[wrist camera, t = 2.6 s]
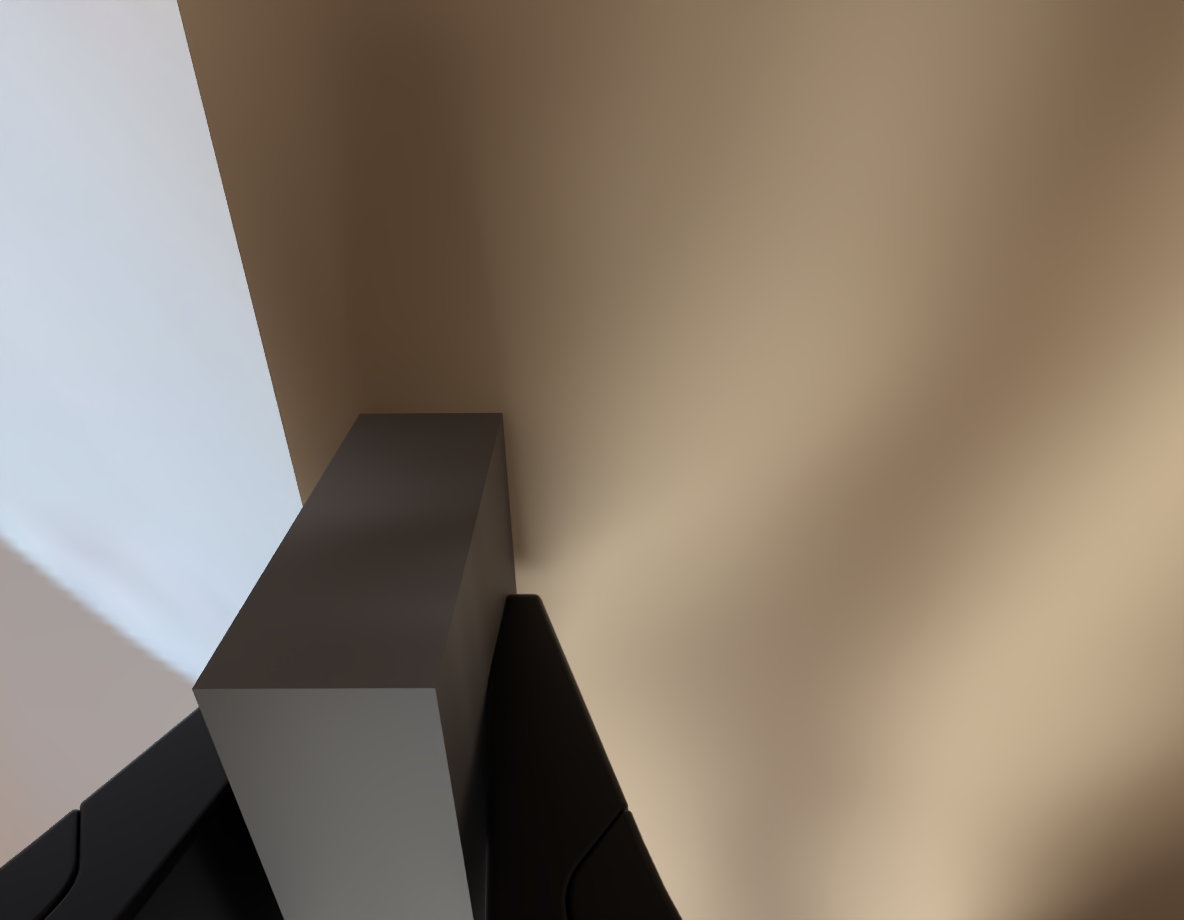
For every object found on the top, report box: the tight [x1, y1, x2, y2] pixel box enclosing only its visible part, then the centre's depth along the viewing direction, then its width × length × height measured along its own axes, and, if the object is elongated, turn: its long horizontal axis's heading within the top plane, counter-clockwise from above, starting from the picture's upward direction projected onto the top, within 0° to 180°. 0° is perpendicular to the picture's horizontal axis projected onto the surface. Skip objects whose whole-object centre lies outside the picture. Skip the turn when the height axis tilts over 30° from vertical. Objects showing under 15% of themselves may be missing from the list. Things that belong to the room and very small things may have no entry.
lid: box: [177, 0, 1184, 920], centre depth 8 cm, size 14×16×5 cm
